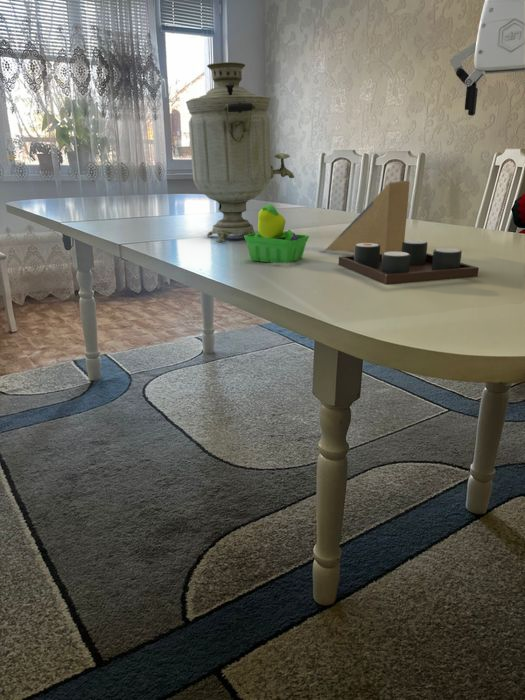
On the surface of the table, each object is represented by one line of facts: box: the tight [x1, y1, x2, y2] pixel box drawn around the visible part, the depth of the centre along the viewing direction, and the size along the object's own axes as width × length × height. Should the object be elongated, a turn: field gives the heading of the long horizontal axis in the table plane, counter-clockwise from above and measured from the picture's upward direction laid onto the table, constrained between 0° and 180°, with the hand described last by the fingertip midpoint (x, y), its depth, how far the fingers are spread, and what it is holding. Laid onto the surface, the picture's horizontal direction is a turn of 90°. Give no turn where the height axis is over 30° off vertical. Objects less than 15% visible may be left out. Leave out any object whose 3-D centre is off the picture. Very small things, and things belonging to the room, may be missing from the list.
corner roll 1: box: [381, 251, 411, 274], centre depth 91 cm, size 5×5×4 cm
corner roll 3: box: [432, 247, 463, 270], centre depth 93 cm, size 5×5×4 cm
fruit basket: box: [243, 204, 310, 264], centre depth 107 cm, size 11×9×11 cm
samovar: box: [185, 61, 295, 243], centre depth 133 cm, size 30×26×40 cm
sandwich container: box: [324, 180, 410, 254], centre depth 117 cm, size 9×15×15 cm, turn 49°
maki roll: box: [353, 243, 380, 269], centre depth 100 cm, size 5×5×4 cm
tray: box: [338, 252, 480, 286], centre depth 97 cm, size 18×18×2 cm
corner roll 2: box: [401, 239, 428, 266], centre depth 102 cm, size 5×5×4 cm
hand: (504, 113), depth 83 cm, fingers open, 9 cm apart
